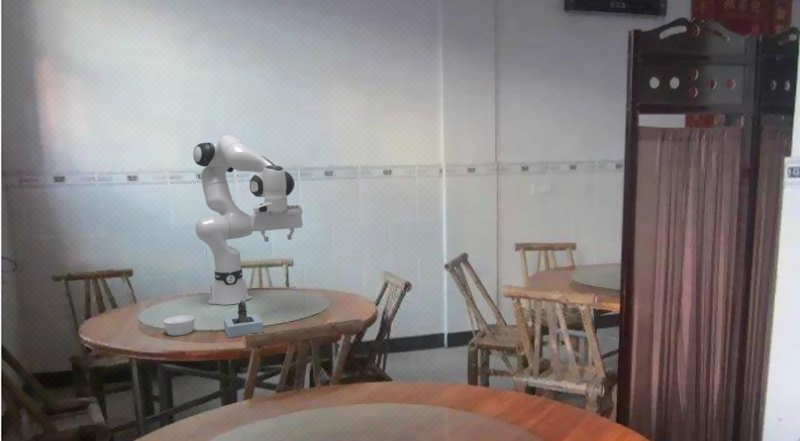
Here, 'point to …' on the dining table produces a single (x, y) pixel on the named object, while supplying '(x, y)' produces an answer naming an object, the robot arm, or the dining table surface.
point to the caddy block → (243, 326)
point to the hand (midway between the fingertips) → (278, 240)
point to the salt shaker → (242, 313)
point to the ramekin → (179, 325)
